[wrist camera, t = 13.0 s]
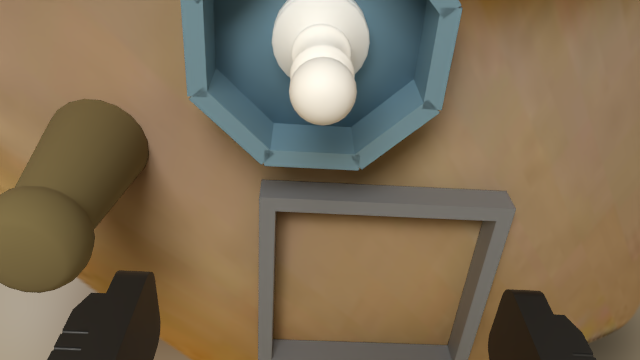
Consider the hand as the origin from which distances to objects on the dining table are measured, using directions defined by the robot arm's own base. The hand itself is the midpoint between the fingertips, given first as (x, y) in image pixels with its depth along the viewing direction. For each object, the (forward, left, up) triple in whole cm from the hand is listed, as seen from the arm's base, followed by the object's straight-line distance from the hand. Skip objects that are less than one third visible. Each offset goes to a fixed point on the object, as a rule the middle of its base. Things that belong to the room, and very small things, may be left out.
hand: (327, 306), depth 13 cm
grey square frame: (-5, +18, -21) cm, 28 cm away
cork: (+13, +8, -21) cm, 26 cm away
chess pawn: (0, 0, -20) cm, 20 cm away
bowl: (0, 0, -21) cm, 21 cm away
